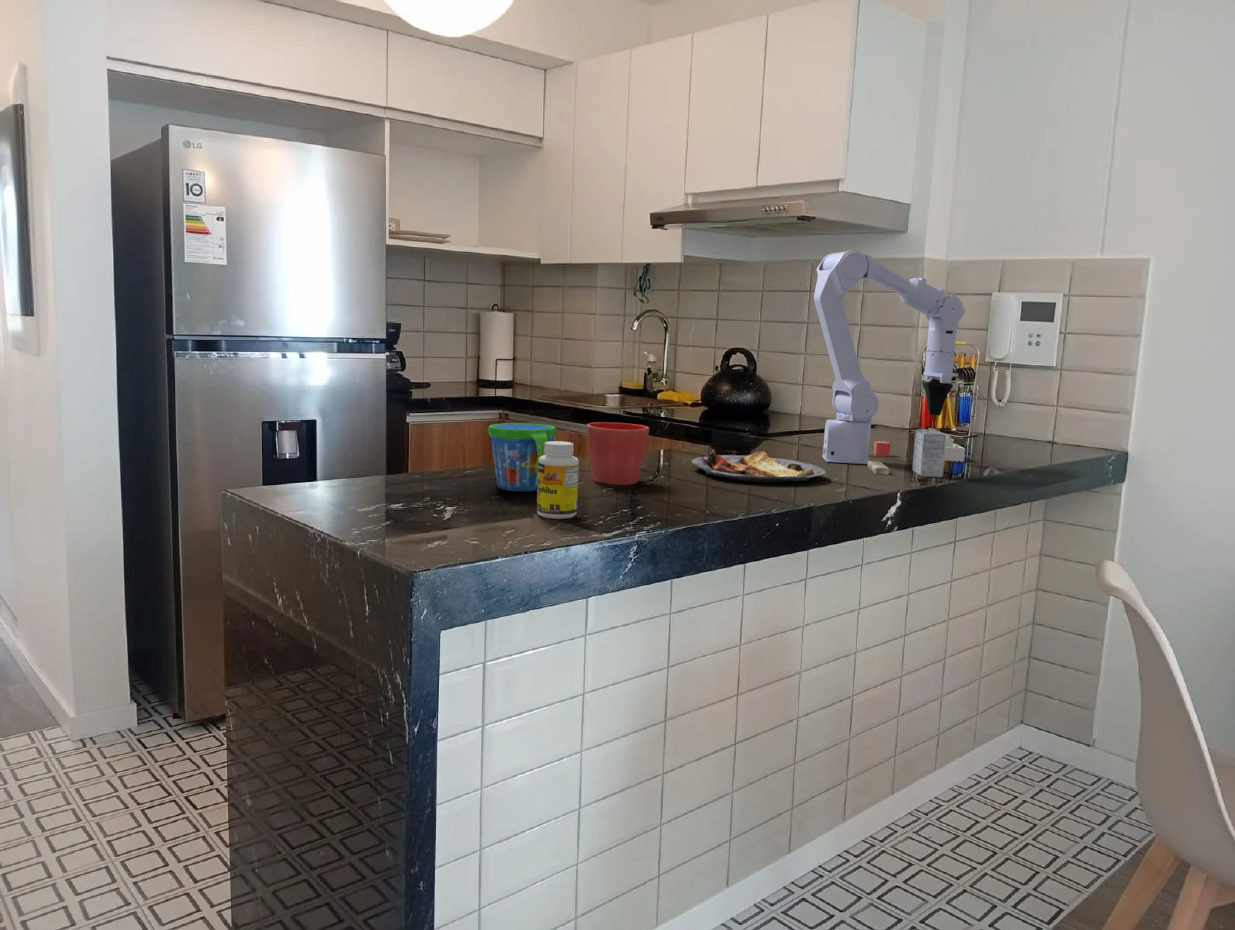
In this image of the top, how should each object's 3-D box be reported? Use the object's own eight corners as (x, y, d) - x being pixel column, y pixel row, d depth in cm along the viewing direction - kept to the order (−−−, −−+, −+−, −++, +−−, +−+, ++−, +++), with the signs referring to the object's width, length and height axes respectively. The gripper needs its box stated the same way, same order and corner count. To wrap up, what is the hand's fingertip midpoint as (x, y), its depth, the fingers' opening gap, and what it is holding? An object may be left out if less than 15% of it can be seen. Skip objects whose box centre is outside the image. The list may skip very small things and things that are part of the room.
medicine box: (943, 478, 180) (947, 434, 178) (919, 477, 180) (923, 432, 179) (933, 472, 187) (937, 429, 186) (911, 470, 188) (915, 428, 187)
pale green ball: (929, 458, 208) (931, 433, 207) (923, 454, 213) (925, 430, 212) (954, 459, 207) (957, 434, 206) (948, 456, 213) (950, 432, 212)
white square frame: (923, 459, 206) (924, 446, 206) (914, 454, 215) (916, 441, 214) (963, 461, 205) (965, 448, 205) (953, 456, 214) (955, 443, 214)
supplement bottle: (528, 514, 128) (530, 441, 127) (558, 510, 132) (560, 439, 131) (554, 521, 124) (557, 446, 123) (585, 517, 128) (587, 444, 127)
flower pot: (659, 482, 160) (662, 426, 158) (616, 489, 152) (619, 430, 150) (615, 474, 167) (617, 420, 165) (571, 479, 159) (573, 423, 157)
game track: (875, 473, 181) (876, 467, 181) (867, 466, 191) (867, 461, 190) (888, 474, 181) (889, 468, 181) (879, 467, 190) (880, 461, 190)
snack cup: (474, 482, 152) (475, 420, 151) (534, 479, 157) (535, 420, 156) (505, 499, 139) (506, 432, 137) (570, 496, 143) (572, 431, 142)
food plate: (674, 464, 182) (675, 446, 181) (779, 464, 189) (781, 447, 189) (727, 490, 159) (729, 470, 158) (845, 489, 166) (847, 470, 165)
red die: (875, 455, 209) (876, 442, 209) (873, 454, 212) (874, 440, 212) (889, 456, 209) (890, 443, 208) (886, 454, 212) (888, 441, 211)
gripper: (968, 353, 191) (962, 419, 193) (950, 352, 205) (945, 413, 207) (933, 352, 191) (927, 417, 193) (918, 350, 206) (912, 411, 208)
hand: (934, 415), depth 200 cm, fingers closed
